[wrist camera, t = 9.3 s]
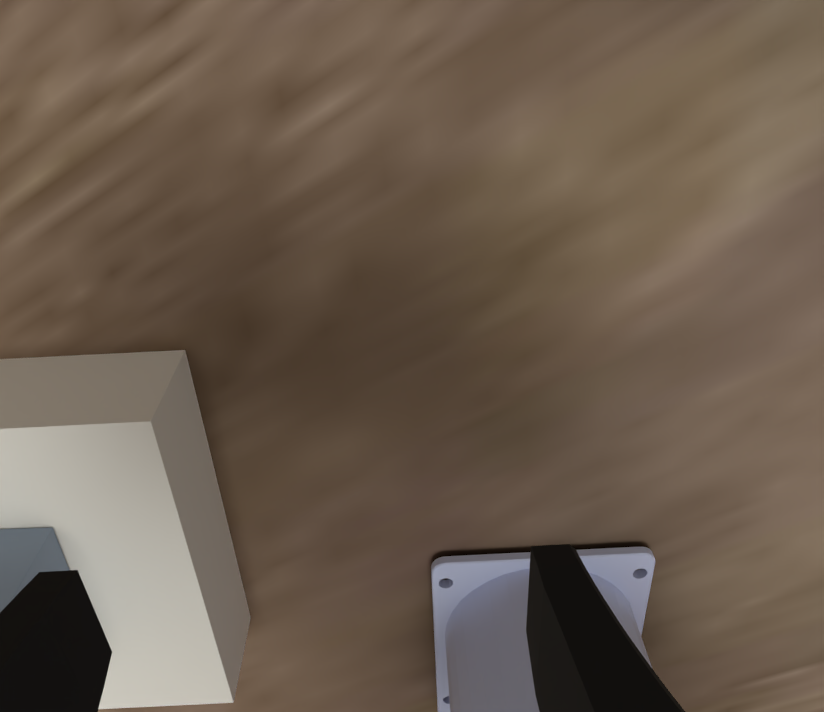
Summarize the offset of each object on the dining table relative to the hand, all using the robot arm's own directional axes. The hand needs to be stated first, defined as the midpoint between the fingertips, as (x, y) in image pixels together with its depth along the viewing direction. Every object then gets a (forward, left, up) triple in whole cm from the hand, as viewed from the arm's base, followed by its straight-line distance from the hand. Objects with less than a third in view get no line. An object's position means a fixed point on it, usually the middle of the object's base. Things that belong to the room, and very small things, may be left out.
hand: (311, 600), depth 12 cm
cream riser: (-7, +11, -11) cm, 17 cm away
